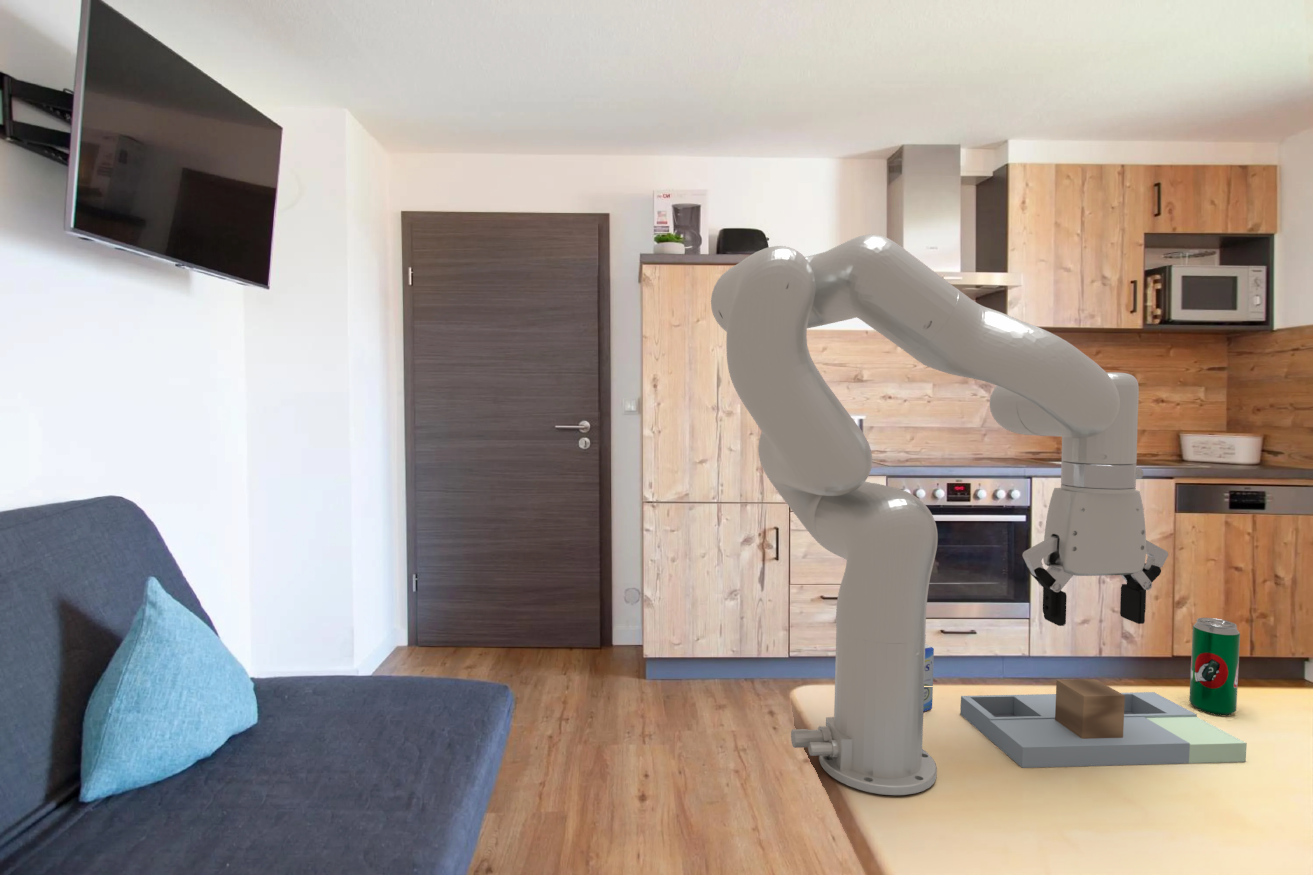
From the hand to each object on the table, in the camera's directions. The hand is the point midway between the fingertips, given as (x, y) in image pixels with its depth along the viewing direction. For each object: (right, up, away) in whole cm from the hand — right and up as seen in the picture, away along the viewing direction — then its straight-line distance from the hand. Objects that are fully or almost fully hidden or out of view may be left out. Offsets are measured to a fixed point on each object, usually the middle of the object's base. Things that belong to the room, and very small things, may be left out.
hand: (1093, 621), depth 86 cm
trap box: (+2, -15, +4) cm, 16 cm away
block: (0, -13, +1) cm, 13 cm away
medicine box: (-19, -15, +11) cm, 27 cm away
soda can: (+24, -15, +12) cm, 31 cm away
